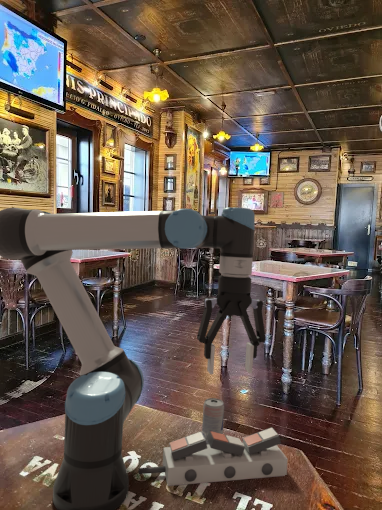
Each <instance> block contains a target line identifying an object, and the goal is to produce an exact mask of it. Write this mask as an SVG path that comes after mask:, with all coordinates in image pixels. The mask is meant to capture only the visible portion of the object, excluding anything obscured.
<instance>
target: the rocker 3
mask: <svg viewBox="0 0 382 510" xmlns="http://www.w3.org/2000/svg"><path fill="white" fill-rule="evenodd" d="M242 442H243V444H244V447H245V448H246V450H247V451H248V453H249V454H250V455H252V454H254V453H257V452H260V451H262V450H265V449H268V448H270V447H273V446H275V445H277V446H278V445H280V444H282V442H281V438H280V435H279V433H278V432H277V430H275V429H274V428H273V426H272V427H269V428H266V429H263V430H261V431H258V432H255V433H252V434H250V435H247V436H244V437H242Z"/></svg>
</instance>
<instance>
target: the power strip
mask: <svg viewBox="0 0 382 510" xmlns="http://www.w3.org/2000/svg"><path fill="white" fill-rule="evenodd" d="M241 442H242V444H243V441H241ZM243 445H244V444H243ZM159 473H161V474H163V473H164V476H165V480H166V485H167V486H169V487H171V486H180V485H193V484H204V483H217V482H228V481H240V480H248V479H263V478H264V479H265V478H272V477H275V478H276V477H285V475H288V457H287V456H286V455H285V453H284V452H283V451H282V450H281V448H279V446H278V445H275V446H273V447H270V448H268V449H265V450H262V451H260V452H257V453H254V454H252V455H250V454H249V453H248V451H247V450H246V448H245V449H244V452H243V455H242V456H241V455H237V454H233V453H229V452H225V451H221V450H217V449H213V448H211V447H210V445H207V449H204V450H202V451H199V452H196V453H193V454H191V455H188V456H185V457H183V458H180V459H177V460H173V456H172V452H171V449H170V446H167V447H165V446H164V447H163V451H162V466H151V467H138V475H149V474H159Z"/></svg>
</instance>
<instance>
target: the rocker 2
mask: <svg viewBox="0 0 382 510" xmlns="http://www.w3.org/2000/svg"><path fill="white" fill-rule="evenodd" d="M207 441H208V443H209V445H210V447H211V448H213V449H217V450H221V451H225V452H229V453H233V454H237V455H241V456H242V455H243V452H244V449H245V447H244V445H243V444H242V442H243V441H241V439H240V438H239V437H235V436H231V435H227V434H224V433H223V434H220V433H216V432H212V431H209V433H208V436H207Z"/></svg>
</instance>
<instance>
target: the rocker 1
mask: <svg viewBox="0 0 382 510" xmlns="http://www.w3.org/2000/svg"><path fill="white" fill-rule="evenodd" d="M168 445H169V447H170V449H171V452H172V456H173V460H177V459H180V458H183V457H185V456H188V455H191V454H193V453H196V452H199V451H202V450H204V449H207V444H206V440H205V438H204V436H203V434H202V430H201V431H198V432H195V433H192V434H189V435H187V436H184V437H181V438H178V439H176V440H173V441H171V442H168Z"/></svg>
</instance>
